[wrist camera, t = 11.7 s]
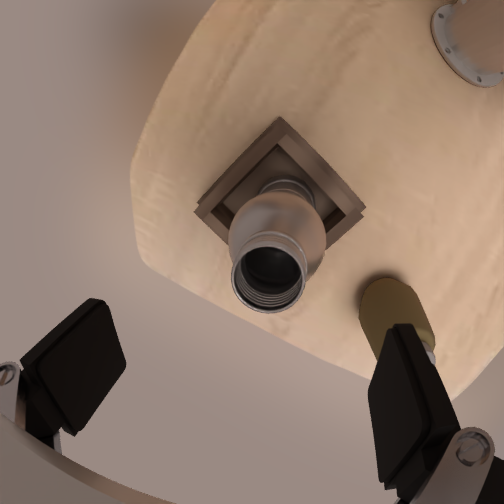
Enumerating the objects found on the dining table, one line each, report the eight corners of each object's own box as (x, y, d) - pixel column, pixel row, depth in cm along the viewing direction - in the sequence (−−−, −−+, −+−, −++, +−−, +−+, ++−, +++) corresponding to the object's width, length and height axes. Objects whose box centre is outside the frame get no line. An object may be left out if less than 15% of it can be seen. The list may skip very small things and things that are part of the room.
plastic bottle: (253, 224, 33) (196, 322, 15) (263, 167, 31) (209, 197, 12) (307, 236, 33) (314, 348, 14) (320, 179, 30) (353, 227, 12)
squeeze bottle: (342, 305, 36) (361, 411, 20) (379, 257, 33) (433, 348, 17) (383, 330, 37) (415, 430, 20) (420, 288, 34) (478, 378, 17)
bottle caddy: (199, 201, 35) (180, 212, 29) (280, 117, 30) (276, 110, 24) (279, 279, 36) (275, 302, 31) (364, 205, 32) (377, 217, 26)
